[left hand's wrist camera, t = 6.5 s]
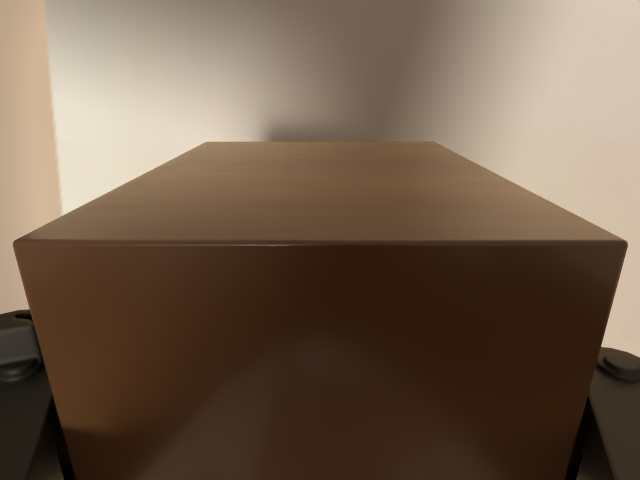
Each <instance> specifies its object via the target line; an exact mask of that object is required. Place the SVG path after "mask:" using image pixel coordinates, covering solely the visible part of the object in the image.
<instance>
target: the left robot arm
mask: <svg viewBox="0 0 640 480" xmlns="http://www.w3.org/2000/svg"><path fill="white" fill-rule="evenodd" d="M0 480H75V477H74V473H73V470H72V466H71V462H70V458H69V455H68V451H67V447H66V443H65V440H64V436H63V432H62V428H61V425H60V421H59V417H58V413H57V410H56V406H55V402H54V398H53V395H52V391H51V387H50V383H49V380H48V376H47V372H46V368H45V364H44V361H43V357H42V353H41V349H40V346H39V342H38V338H37V334H36V331H35V327H34V323H33V319H32V316H31V312H30V310H18V311H14V312H9V313H4V314H0ZM565 480H640V357H637V356H635V355H633V354H630V353H628V352H624V351H620V350H617V349H613V348H604V347H601V348H600V352H599V355H598V359H597V363H596V367H595V370H594V374H593V378H592V382H591V385H590V389H589V393H588V397H587V400H586V404H585V408H584V412H583V415H582V419H581V423H580V427H579V430H578V434H577V438H576V442H575V445H574V449H573V453H572V457H571V460H570V464H569V468H568V472H567V475H566V479H565Z"/></svg>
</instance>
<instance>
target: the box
mask: <svg viewBox="0 0 640 480" xmlns="http://www.w3.org/2000/svg"><path fill="white" fill-rule="evenodd" d="M627 247H628V243H627V241H626V240H624V239H622V238H620V237H618V236H616V235H614V234H612V233H610V232H608V231H606V230H604V229H602V228H600V227H598V226H596V225H594V224H592V223H591V222H589V221H587V220H585V219H583V218H581V217H579V216H577V215H575V214H573V213H571V212H569V211H567V210H565V209H563V208H561V207H559V206H557V205H556V204H554V203H552V202H550V201H548V200H546V199H544V198H542V197H540V196H538V195H536V194H534V193H532V192H530V191H528V190H526V189H524V188H522V187H521V186H519V185H517V184H515V183H513V182H511V181H509V180H507V179H505V178H503V177H501V176H499V175H497V174H495V173H493V172H491V171H489V170H487V169H486V168H484V167H482V166H480V165H478V164H476V163H474V162H472V161H470V160H468V159H466V158H464V157H462V156H460V155H458V154H456V153H454V152H452V151H451V150H449V149H447V148H445V147H443V146H441V145H439V144H437V143H435V142H205V143H203V144H201V145H199V146H197V147H196V148H194V149H192V150H190V151H188V152H186V153H184V154H182V155H180V156H178V157H176V158H174V159H172V160H170V161H168V162H166V163H164V164H163V165H161V166H159V167H157V168H155V169H153V170H151V171H149V172H147V173H145V174H143V175H141V176H139V177H137V178H135V179H133V180H131V181H130V182H128V183H126V184H124V185H122V186H120V187H118V188H116V189H114V190H112V191H110V192H108V193H106V194H104V195H102V196H100V197H98V198H97V199H95V200H93V201H91V202H89V203H87V204H85V205H83V206H81V207H79V208H77V209H75V210H73V211H71V212H69V213H67V214H65V215H64V216H62V217H60V218H58V219H56V220H54V221H52V222H50V223H48V224H46V225H44V226H42V227H40V228H38V229H36V230H34V231H33V232H31V233H29V234H27V235H25V236H23V237H21V238H19V239H17V240H15V241H14V242H13V248H14V252H15V255H16V259H17V263H18V267H19V270H20V274H21V278H22V282H23V285H24V289H25V293H26V297H27V301H28V304H29V308H30V312H31V316H32V319H33V323H34V327H35V331H36V334H37V338H38V342H39V346H40V349H41V353H42V357H43V361H44V364H45V368H46V372H47V376H48V380H49V383H50V387H51V391H52V395H53V398H54V402H55V406H56V410H57V413H58V417H59V421H60V425H61V428H62V432H63V436H64V440H65V443H66V447H67V451H68V455H69V458H70V462H71V466H72V470H73V473H74V477H75V480H565V479H566V475H567V472H568V468H569V464H570V460H571V457H572V453H573V449H574V445H575V442H576V438H577V434H578V430H579V427H580V423H581V419H582V415H583V412H584V408H585V404H586V400H587V397H588V393H589V389H590V385H591V382H592V378H593V374H594V370H595V367H596V363H597V359H598V355H599V352H600V348H601V344H602V340H603V337H604V333H605V329H606V325H607V322H608V318H609V314H610V310H611V307H612V303H613V299H614V295H615V292H616V288H617V284H618V280H619V277H620V273H621V269H622V265H623V262H624V258H625V254H626V250H627Z"/></svg>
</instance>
